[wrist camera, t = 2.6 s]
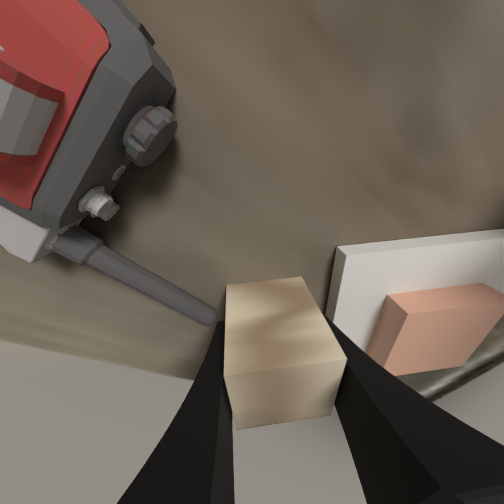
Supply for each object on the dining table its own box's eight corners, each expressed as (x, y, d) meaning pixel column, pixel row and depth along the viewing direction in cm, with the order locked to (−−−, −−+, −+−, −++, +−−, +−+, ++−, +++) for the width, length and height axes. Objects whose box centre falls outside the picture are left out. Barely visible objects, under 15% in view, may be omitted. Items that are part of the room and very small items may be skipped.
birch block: (301, 276, 11) (347, 358, 7) (297, 327, 13) (330, 415, 9) (226, 284, 11) (223, 376, 7) (234, 335, 13) (237, 429, 9)
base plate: (537, 225, 11) (613, 244, 9) (448, 352, 17) (480, 383, 15) (336, 246, 10) (365, 272, 8) (315, 371, 16) (329, 406, 14)
